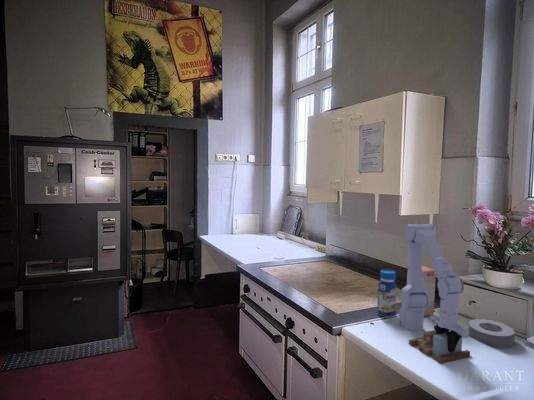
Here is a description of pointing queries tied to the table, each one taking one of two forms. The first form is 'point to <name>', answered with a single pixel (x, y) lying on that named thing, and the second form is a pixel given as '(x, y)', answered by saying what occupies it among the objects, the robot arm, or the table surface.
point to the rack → (443, 358)
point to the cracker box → (428, 288)
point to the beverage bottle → (387, 294)
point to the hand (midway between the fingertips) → (447, 349)
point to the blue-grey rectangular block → (443, 345)
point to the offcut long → (423, 342)
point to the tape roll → (491, 333)
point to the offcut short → (429, 335)
